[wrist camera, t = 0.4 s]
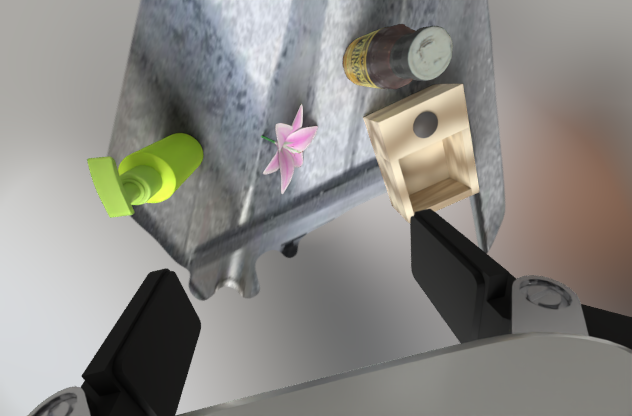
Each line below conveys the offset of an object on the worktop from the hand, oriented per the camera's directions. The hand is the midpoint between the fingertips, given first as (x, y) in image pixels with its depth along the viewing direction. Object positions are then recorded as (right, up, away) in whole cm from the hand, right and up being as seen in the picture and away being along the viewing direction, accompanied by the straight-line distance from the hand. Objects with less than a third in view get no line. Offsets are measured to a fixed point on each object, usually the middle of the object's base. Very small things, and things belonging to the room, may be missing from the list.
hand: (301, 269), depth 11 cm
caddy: (+17, +12, +36) cm, 42 cm away
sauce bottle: (+7, +24, +30) cm, 39 cm away
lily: (-4, +13, +33) cm, 36 cm away
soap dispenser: (-20, +12, +31) cm, 39 cm away
